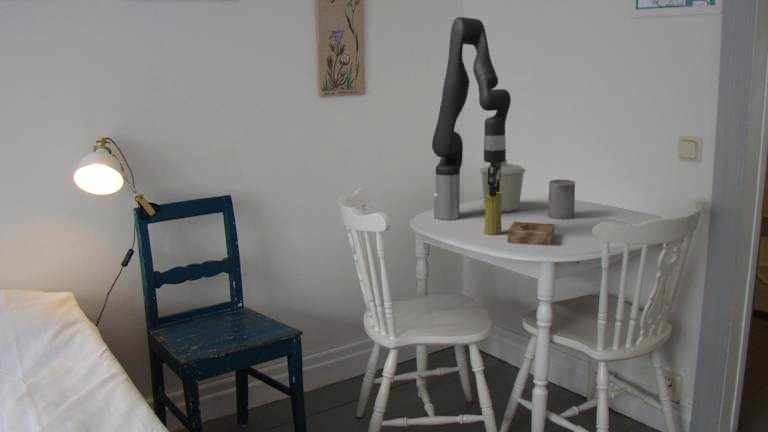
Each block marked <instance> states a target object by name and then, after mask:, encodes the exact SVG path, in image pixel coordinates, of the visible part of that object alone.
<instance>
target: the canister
mask: <svg viewBox="0 0 768 432" xmlns="http://www.w3.org/2000/svg"><path fill="white" fill-rule="evenodd" d="M488 167H490V164H486V165H483V167H481V168H479V172H480V173H481V182H482V183H481V184H482V193H483V204H484V206H485V208H486V193H489V185H488ZM525 172H526V169H525V168H523V167H522V166H520V165H518V164H510V163H508V160H507V159H506V161H505V162H501V180H500V191H499V192H498V193H501V213H509V212H510V213H511V212H514V211H516V210H517V209H518V207H520V206H519V205H520V200H521V195H522V187H523V179H524V174H525ZM491 181H493V180H491Z"/></svg>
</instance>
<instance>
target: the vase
mask: <svg viewBox="0 0 768 432" xmlns="http://www.w3.org/2000/svg"><path fill="white" fill-rule="evenodd" d="M484 216H485V218H484V230H483V232H484V234H485V235H488V236H489V235H490V236H498V235H501V234H502V232H503V231H502V212H501V193H498V192H496V196H495V197H491V196H489V193H486V207H485V215H484Z"/></svg>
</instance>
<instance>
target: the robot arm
mask: <svg viewBox="0 0 768 432" xmlns="http://www.w3.org/2000/svg"><path fill="white" fill-rule="evenodd" d="M449 37H450V38H449V47H448V48H449V49H448V58H447V59H448V60H447V67H446V70H445V71H446V72H445V77H444V82H443V87H442V94H441V95H442V96H441V101H440V107H439V112H438V119H437V123H436V125H435V130H434V133H433V137H432V141H431V148H432V151H433V153H434V155H436V157H439V158H440V160H439V162H438V163H437V165H436V166H435V193H434V194H433V195H434V197H433V199H434V200H433V202H434V203H433V209H434V210H433V218H434V219H438V220H445V221H446V220H447V221H450V220H457V219H459V218H460V206H461V204H460V200H461V199H460V195H461V194H460V190H461V187H460V185H461V184H460V183H461V181H460V178H461V177H460V174H461V171H460V170H461V168H462V164H463V151H464V150H463V148H464V147H463V139H462V136H461V135H460V133H458V132H456V131H455V127H456V122H457V120H458V118H459V116H460V114H461V112H462V111H463V109H464V106H465V104H466V103H467V98H468V95H469V94H468V93H469V90H470V89H469V87H470V78H469V74H468V71H467V69H466V67H465V63H464V61H463V48H464V45H471V46H474V47H473V48H475V51H476V54H475V55H476V56H475V59H474V61H473V66H472V69H473V75H474V77H475V80H476V84H477V87H478V95H479V97H478V103H479V106H480V107H481V109H483V111H490V112H491V111H496V112H495V114H494V115H493V116H491V117H487V118H486V119H485V120H484V139H483V162H485V163H490V164H489V165H490V167H488V185H489V196H491V197H495V196H496V192H499V191H500V180H501V162H505V161H506V160H507V154H506V153H507V151H506V150H507V149H506V148H507V140H506V121H507V118H508V112H509V109H510V106H511V101H512V98H511V94H510V92H509V91H508V90H507V89H504V88H499V89H495V88H496V87H497V86H498V84H499V79H498V75H497V73H496V70H495V68H494V66H493V63H492V60H491V54H490V49H489V44H488V39H487V33H486V29H485V25H484V24H483V22H482V20H481V19H477V18H471V17H463V16H462V17H461V16H459V17H455V19H454V20H453V22H452V24H451V28H450V36H449ZM491 180H493V181H491Z"/></svg>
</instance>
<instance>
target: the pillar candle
mask: <svg viewBox="0 0 768 432" xmlns="http://www.w3.org/2000/svg"><path fill="white" fill-rule="evenodd" d="M575 190H576V182H575V181H574V180H572V179H571V180H570V179H563V178H562V179H553V180H550V181H549V185H548V208H547V209H548V216H547V217H548V218H550V219H554V220H570V219H573V218H574V216H575V198H576V197H575V194H576V191H575Z"/></svg>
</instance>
